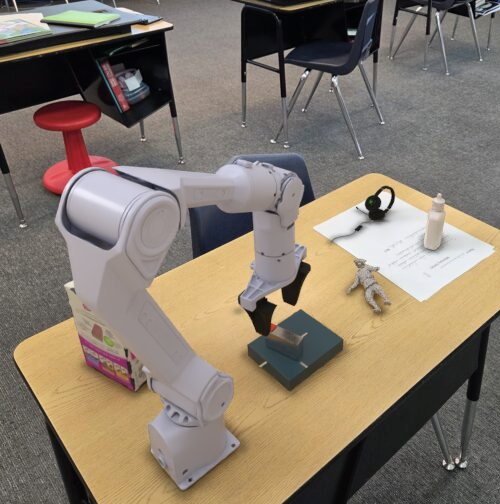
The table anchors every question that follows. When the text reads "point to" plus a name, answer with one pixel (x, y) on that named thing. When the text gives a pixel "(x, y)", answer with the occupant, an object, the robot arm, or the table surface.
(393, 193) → the headset
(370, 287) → the soldier figure
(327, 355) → the tap console
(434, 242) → the eye dropper bottle
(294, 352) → the tap handle
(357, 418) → the table surface
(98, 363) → the candy bar box
